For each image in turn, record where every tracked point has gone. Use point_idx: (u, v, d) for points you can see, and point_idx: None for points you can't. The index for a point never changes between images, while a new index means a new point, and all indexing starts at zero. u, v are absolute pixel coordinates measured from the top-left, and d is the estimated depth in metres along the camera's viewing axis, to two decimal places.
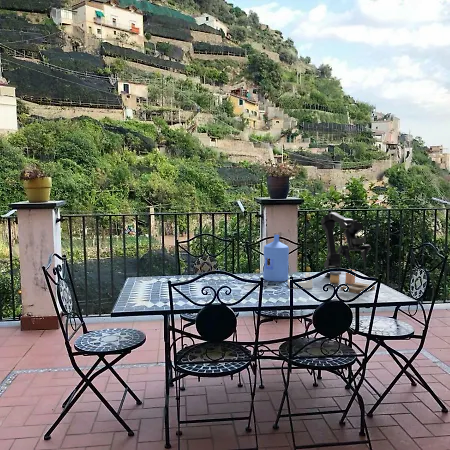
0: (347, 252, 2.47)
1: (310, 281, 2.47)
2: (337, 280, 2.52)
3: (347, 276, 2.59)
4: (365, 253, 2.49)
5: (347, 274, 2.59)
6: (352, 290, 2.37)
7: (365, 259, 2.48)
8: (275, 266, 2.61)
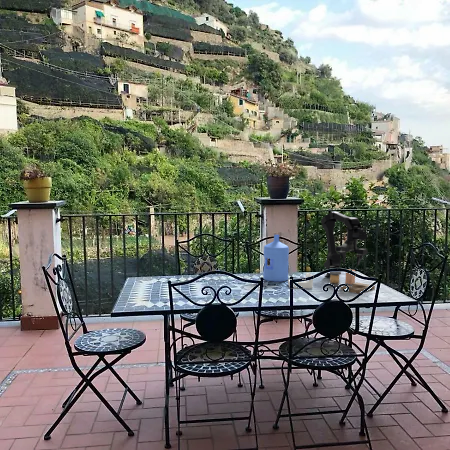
0: (340, 254, 2.62)
1: (310, 281, 2.47)
2: (337, 280, 2.52)
3: (347, 276, 2.59)
4: (357, 257, 2.54)
5: (347, 274, 2.59)
6: (352, 290, 2.37)
7: (357, 263, 2.55)
8: (275, 266, 2.61)
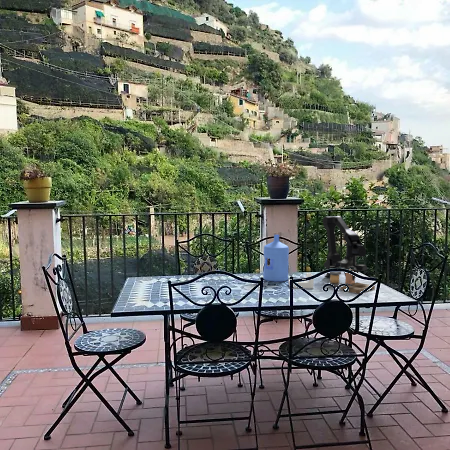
0: None
1: (311, 281, 2.47)
2: (337, 280, 2.52)
3: (347, 276, 2.59)
4: None
5: (347, 274, 2.59)
6: (352, 290, 2.37)
7: (353, 278, 2.58)
8: (275, 266, 2.61)
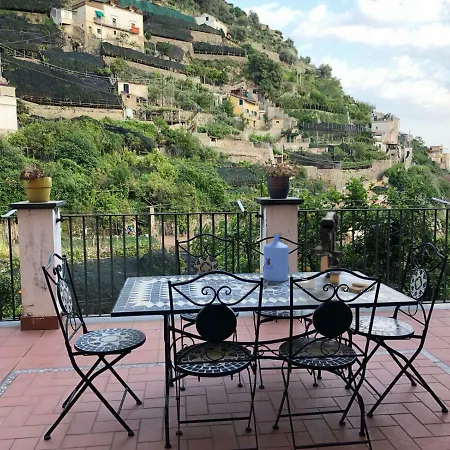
0: (319, 257, 2.47)
1: (312, 281, 2.47)
2: (337, 280, 2.52)
3: (322, 263, 2.45)
4: (329, 259, 2.43)
5: (322, 261, 2.45)
6: (352, 290, 2.37)
7: (328, 265, 2.44)
8: (275, 266, 2.61)
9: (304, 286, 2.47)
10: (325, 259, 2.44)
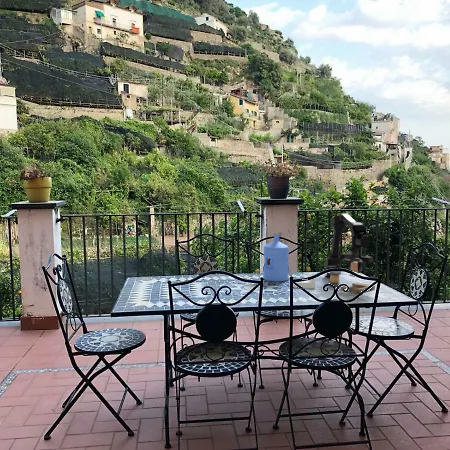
0: (348, 262, 2.46)
1: (313, 281, 2.47)
2: (337, 280, 2.52)
3: (352, 268, 2.44)
4: (359, 265, 2.42)
5: (352, 266, 2.44)
6: (352, 290, 2.37)
7: (358, 271, 2.43)
8: (275, 266, 2.61)
9: (305, 286, 2.47)
10: (355, 264, 2.43)
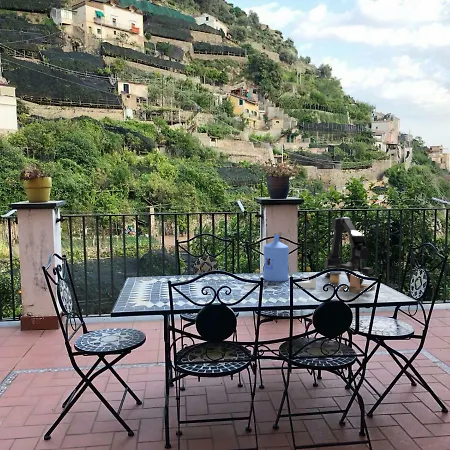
0: (346, 273, 2.48)
1: (314, 281, 2.47)
2: (337, 280, 2.52)
3: (352, 281, 2.45)
4: None
5: (352, 279, 2.45)
6: (352, 290, 2.37)
7: (360, 282, 2.42)
8: (275, 266, 2.61)
9: (305, 286, 2.47)
10: (354, 277, 2.43)
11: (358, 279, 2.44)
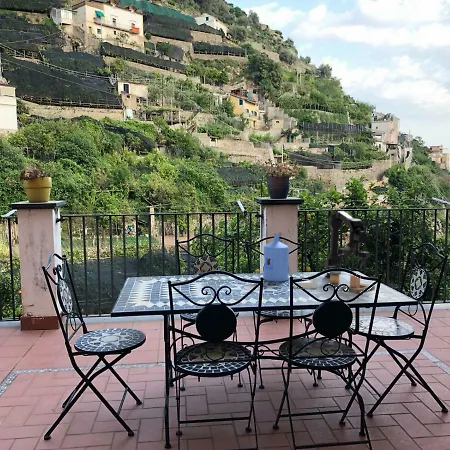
0: (342, 256, 2.54)
1: (315, 281, 2.47)
2: (337, 280, 2.52)
3: (352, 281, 2.45)
4: (360, 261, 2.45)
5: (352, 279, 2.45)
6: (352, 290, 2.37)
7: (359, 266, 2.47)
8: (275, 266, 2.61)
9: (306, 286, 2.47)
10: (354, 277, 2.43)
11: (358, 279, 2.44)
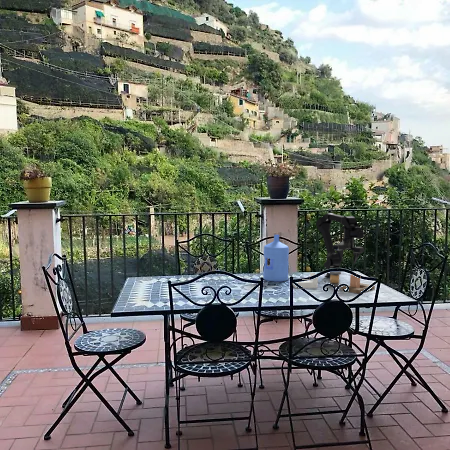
0: (337, 252, 2.67)
1: (315, 281, 2.47)
2: (337, 280, 2.52)
3: (352, 281, 2.45)
4: (354, 255, 2.59)
5: (352, 279, 2.45)
6: (352, 290, 2.37)
7: (354, 261, 2.60)
8: (275, 266, 2.61)
9: (307, 286, 2.47)
10: (354, 277, 2.43)
11: (358, 279, 2.44)
